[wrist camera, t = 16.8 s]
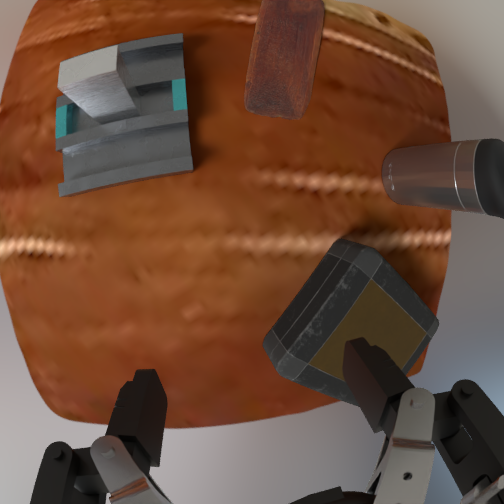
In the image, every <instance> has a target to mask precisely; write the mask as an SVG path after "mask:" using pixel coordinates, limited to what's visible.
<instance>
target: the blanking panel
mask: <svg viewBox="0 0 504 504" xmlns="http://www.w3.org/2000/svg"><path fill="white" fill-rule="evenodd" d="M58 89H59V90H61V91H62V92H63V93H64V94H65V95H66V96H68V97H69V98H70V99H71V100H72V101H74V102H75V103H76V104H77V105H78V106H79V107H81V108H82V109H83V110H84V111H85V112H86V113H88V114H89V115H90V116H91V117H92V118H93V119H95V120H96V121H97V122H98V123H99V124H100V125H104V124H108V123H112V122H116V121H121V120H125V119H130V118H135V117H140V116H141V109H140V97H139V94H138V92H137V90H136V87H135V85H134V83H133V80H132V78H131V76H130V74H129V71H128V69H127V66H126V64H125V62H124V59H123V57H122V55H121V52H120V50H119V47H118V45H115V46H111V47H107V48H104V49H100V50H97V51H93V52H90V53H87V54H83V55H80V56H77V57H74V58H71V59H69V60H66V61H63V62H61V63H60V70H59V78H58Z"/></svg>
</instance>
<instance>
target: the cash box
mask: <svg viewBox="0 0 504 504" xmlns="http://www.w3.org/2000/svg"><path fill="white" fill-rule="evenodd" d="M438 326H439V321H438V319H437V318H436V316H435V315H434V314H433V313H432V312H431V310H430V309H429V308H428V307H427V306H426V304H425V303H424V302H423V301H422V300H421V299H420V297H419V296H418V295H417V294H416V293H415V292H414V290H413V289H412V288H411V287H410V285H409V284H408V283H407V282H406V281H405V280H404V279H403V278H402V277H401V276H400V275H399V274H398V273H397V272H396V270H395V269H394V268H393V267H392V266H391V265H390V264H389V263H388V262H387V261H386V260H385V259H384V258H383V257H382V256H381V255H380V254H379V253H378V252H377V251H376V250H375V249H374V248H372V247H368V246H365V245H362V244H359V243H355V242H352V241H348V240H345V239H339V240H337V241H336V242H335V243H333V245H332V246H331V248H330V249H329V251H328V252H327V253H326V255H325V256H324V258H323V259H322V261H321V262H320V263H319V265H318V266H317V268H316V269H315V271H314V272H313V273H312V275H311V276H310V278H309V279H308V280H307V282H306V283H305V285H304V286H303V287H302V289H301V290H300V291H299V293H298V294H297V296H296V297H295V298H294V300H293V301H292V302H291V304H290V305H289V306H288V308H287V309H286V310H285V312H284V313H283V314H282V316H281V317H280V318H279V320H278V321H277V322H276V323H275V325H274V326H273V327H272V329H271V330H270V331H269V333H268V334H267V335H266V336H265V339H264V342H263V347H264V349H265V351H266V353H267V355H268V356H269V358H270V360H271V362H272V364H273V365H274V367H275V369H276V370H277V372H278V373H279V374H280V375H281V376H282V377H284V378H286V379H289V380H291V381H293V382H296V383H298V384H300V385H303V386H305V387H308V388H310V389H313V390H315V391H318V392H320V393H323V394H325V395H328V396H331V397H333V398H336V399H339V400H342V401H344V402H347V403H350V404H353V405H356V406H359V404H358V403H357V401H356V399H355V397H354V395H353V394H352V392H351V390H350V388H349V386H348V385H347V383H346V381H345V379H344V376H343V371H342V366H343V357H344V348H345V343H346V341H349V340H352V339H356V338H360V337H364V338H365V339H366V341H367V342H368V343H369V344H370V346H374V345H377V346H378V347H380V348H382V349H384V350H385V351H386V352H387V353H388V354H389V356H390V357H391V359H393V361H394V362H395V363H396V366H398V367H399V368H400V369H401V370H402V372H403V373H404V374H405V375H406V374H407V373H408V372H409V370H410V369H411V368H412V366H413V365H414V363H415V362H416V361H417V359H418V358H419V356H420V355H421V354H422V352H423V351H424V349H425V348H426V346H427V345H428V343H429V342H430V340H431V339H432V337H433V336H434V334H435V332H436V331H437V328H438ZM359 407H360V406H359Z"/></svg>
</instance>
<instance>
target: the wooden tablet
mask: <svg viewBox="0 0 504 504" xmlns="http://www.w3.org/2000/svg"><path fill="white" fill-rule="evenodd" d="M323 19H324V3H323V1H322V0H263V1H262V4H261V7H260V10H259V14H258V18H257V22H256V27H255V33H254V38H253V42H252V48H251V53H250V59H249V65H248V71H247V77H246V80H247V82H246V84H245V94H244V102H245V108H246V110H247V111H249V112H252V113H254V114H258V115H262V116H269V117H279V116H280V117H282V118H284V119H289V120H291V119H301V118H302V117H303V115H304V113H305V111H306V108H307V106H308V104H309V102H310V98H311V93H312V86H313V80H314V74H315V68H316V63H317V57H318V53H319V47H320V41H321V35H322V28H323Z"/></svg>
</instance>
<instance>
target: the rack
mask: <svg viewBox="0 0 504 504" xmlns="http://www.w3.org/2000/svg"><path fill="white" fill-rule="evenodd" d="M117 45H118V47H119V50H120V52H121V55H122V57H123V59H124V62H125V64H126V66H127V69H128V71H129V74H130V76H131V78H132V80H133V83H134V85H135V87H136V90H137V92H138V94H139V97H140V109H141V116H140V117H135V118H130V119H125V120H121V121H116V122H112V123H108V124H104V125H100V124H99V123H98V122H97V121H96V120H95V119H93V118H92V117H91V116H90V115H89V114H88V113H86V112H85V111H84V110H83V109H82V108H81V107H79V106H78V105H77V104H76V103H75V102H74V101H72V100H71V99H70V98H69V97H68V96H66V95H65V94H64V95H63V96H60V97H57V106H56V151H58V152H61V153H63V167H64V180H65V182H63V183H60V184H58V188H59V197H71V196H75V195H79V194H83V193H87V192H91V191H96V190H100V189H104V188H109V187H113V186H118V185H123V184H128V183H133V182H138V181H143V180H148V179H154V178H160V177H166V176H172V175H178V174H185V173H192V172H193V162H192V156H191V150H190V140H189V129H188V112H187V99H186V86H185V70H184V62H183V33H181V34H172V35H164V36H158V37H151V38H146V39H140V40H135V41H130V42H126V43H121V44H117ZM113 46H115V45H113ZM109 47H111V46H109ZM105 48H107V47H105ZM102 49H104V48H102ZM98 50H100V49H98ZM95 51H97V50H95ZM91 52H93V51H91ZM88 53H90V52H88ZM85 54H87V53H85ZM82 55H83V54H82ZM79 56H80V55H79ZM76 57H77V56H76ZM73 58H74V57H73ZM70 59H71V58H70ZM67 60H69V59H67ZM64 61H66V60H64ZM62 62H63V61H62Z"/></svg>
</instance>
